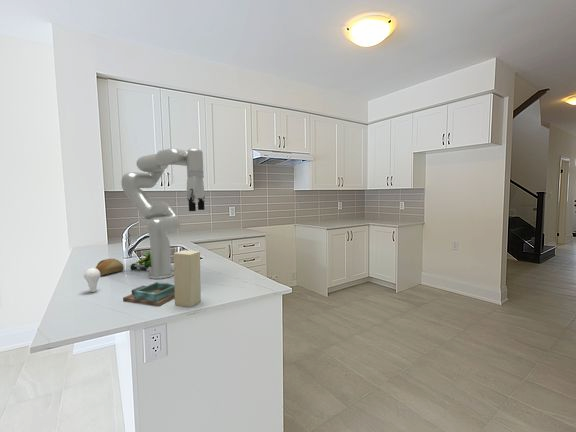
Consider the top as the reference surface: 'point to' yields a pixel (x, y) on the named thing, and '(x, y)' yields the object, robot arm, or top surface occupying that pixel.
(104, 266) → the bread roll
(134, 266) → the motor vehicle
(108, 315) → the top surface
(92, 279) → the lightbulb
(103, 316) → the top surface
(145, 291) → the board
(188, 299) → the beige long rectangular block
